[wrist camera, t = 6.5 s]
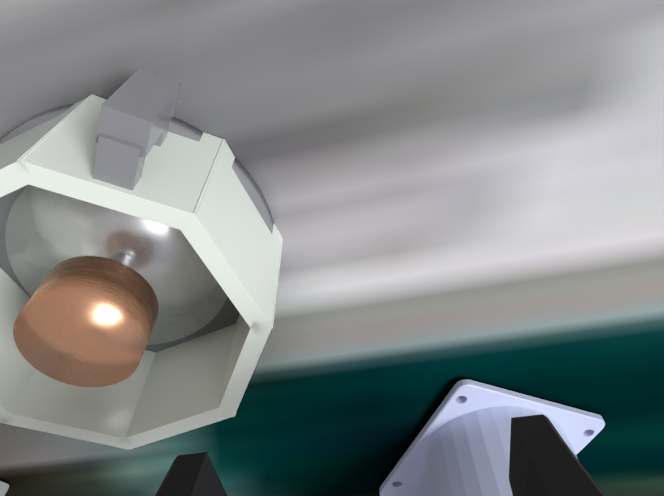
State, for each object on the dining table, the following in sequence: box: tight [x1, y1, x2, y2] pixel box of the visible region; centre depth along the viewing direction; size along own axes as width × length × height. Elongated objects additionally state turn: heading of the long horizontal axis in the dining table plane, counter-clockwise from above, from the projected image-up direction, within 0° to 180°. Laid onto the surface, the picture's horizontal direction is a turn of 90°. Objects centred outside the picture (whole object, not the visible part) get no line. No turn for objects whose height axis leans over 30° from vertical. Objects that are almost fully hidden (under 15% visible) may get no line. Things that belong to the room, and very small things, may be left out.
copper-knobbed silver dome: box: [5, 185, 228, 387], centre depth 18 cm, size 8×8×5 cm
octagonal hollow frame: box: [0, 68, 283, 450], centre depth 18 cm, size 12×11×5 cm
